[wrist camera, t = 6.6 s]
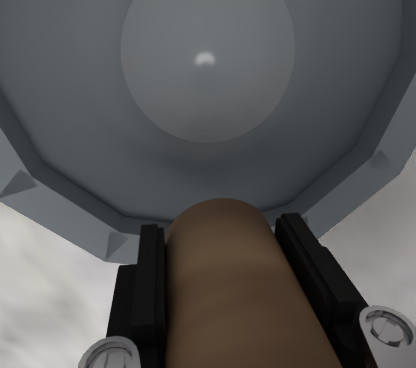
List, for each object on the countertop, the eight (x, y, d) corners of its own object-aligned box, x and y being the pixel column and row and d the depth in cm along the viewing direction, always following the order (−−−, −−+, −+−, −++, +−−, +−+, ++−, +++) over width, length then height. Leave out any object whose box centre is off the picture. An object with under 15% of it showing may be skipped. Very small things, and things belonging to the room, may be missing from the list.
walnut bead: (292, 237, 12) (396, 415, 7) (218, 298, 13) (256, 493, 8) (219, 176, 10) (279, 347, 5) (140, 251, 11) (121, 459, 6)
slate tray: (505, 47, 16) (563, 52, 14) (207, 296, 22) (211, 328, 20) (192, -682, 7) (204, -1021, 5) (-172, 62, 13) (-247, 71, 11)
